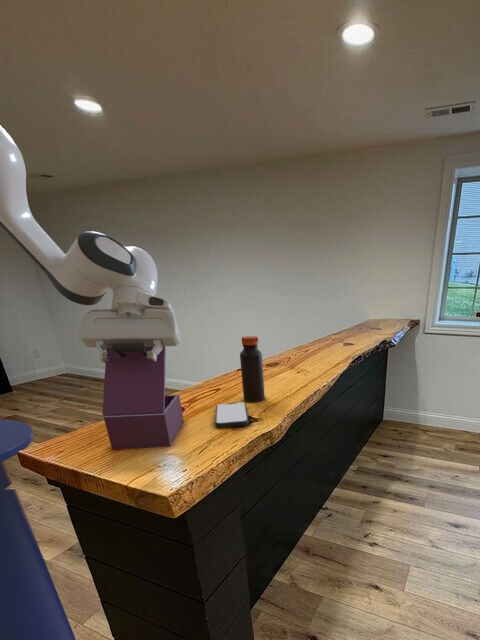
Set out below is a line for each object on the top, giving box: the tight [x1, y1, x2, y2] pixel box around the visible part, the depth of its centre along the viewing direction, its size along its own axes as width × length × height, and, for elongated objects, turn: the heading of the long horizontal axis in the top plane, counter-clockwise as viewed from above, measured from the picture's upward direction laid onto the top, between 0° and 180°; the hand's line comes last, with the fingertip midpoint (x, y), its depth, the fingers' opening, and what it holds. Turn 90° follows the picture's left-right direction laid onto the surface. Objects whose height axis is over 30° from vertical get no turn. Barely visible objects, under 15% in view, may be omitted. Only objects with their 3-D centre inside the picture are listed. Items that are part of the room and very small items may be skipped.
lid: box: [101, 343, 167, 417], centre depth 76 cm, size 16×13×6 cm
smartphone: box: [214, 402, 250, 429], centre depth 99 cm, size 9×2×16 cm
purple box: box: [103, 394, 185, 450], centre depth 85 cm, size 16×13×8 cm
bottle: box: [239, 335, 266, 403], centre depth 110 cm, size 7×7×20 cm
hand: (128, 360), depth 75 cm, fingers open, 8 cm apart
